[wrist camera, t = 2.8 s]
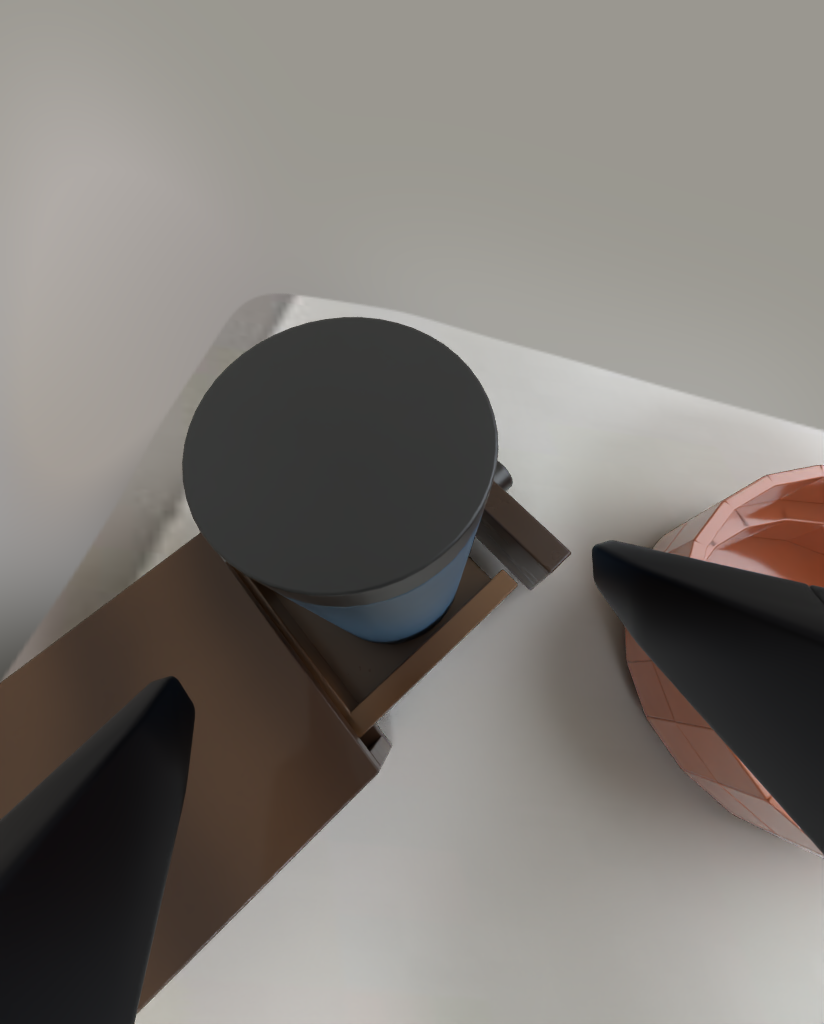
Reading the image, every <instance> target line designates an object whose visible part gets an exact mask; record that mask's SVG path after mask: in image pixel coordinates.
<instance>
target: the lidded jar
mask: <svg viewBox="0 0 824 1024" xmlns="http://www.w3.org/2000/svg"><path fill="white" fill-rule="evenodd" d="M497 458H498V432H497V427H496V421H495V416H494V413H493V410H492V407H491V404H490V401H489V399H488V397H487V395H486V393H485V391H484V389H483V387H482V385H481V383H480V381H479V380H478V379H477V377H476V376H475V375H474V373H473V372H472V370H471V369H470V368H469V367H468V366H467V365H466V364H465V363H464V361H463V360H462V359H461V358H460V357H459V356H458V355H457V354H455V353H454V352H453V351H452V350H450V349H449V348H448V347H447V346H445V345H444V344H442V343H441V342H439V341H437V340H436V339H434V338H433V337H431V336H429V335H427V334H425V333H423V332H421V331H418V330H416V329H414V328H411V327H408V326H405V325H402V324H399V323H395V322H391V321H386V320H381V319H373V318H363V317H343V318H333V319H324V320H319V321H314V322H310V323H306V324H302V325H299V326H296V327H293V328H290V329H287V330H285V331H283V332H280V333H278V334H275V335H273V336H271V337H270V338H268V339H266V340H264V341H262V342H260V343H259V344H257V345H255V346H254V347H252V348H251V349H250V350H248V351H247V352H245V353H244V354H242V355H241V356H240V357H239V358H238V359H236V360H235V361H234V362H233V363H232V364H231V365H229V366H228V367H227V368H226V369H225V370H224V372H223V373H222V374H221V375H220V376H219V377H218V378H217V379H216V380H215V381H214V383H213V384H212V386H211V387H210V388H209V390H208V391H207V392H206V394H205V395H204V397H203V399H202V400H201V402H200V404H199V406H198V407H197V409H196V411H195V414H194V416H193V419H192V421H191V423H190V426H189V429H188V433H187V437H186V440H185V444H184V453H183V461H182V466H183V483H184V489H185V494H186V499H187V502H188V505H189V508H190V511H191V514H192V516H193V519H194V521H195V522H196V524H197V526H198V528H199V530H200V531H201V533H202V535H203V536H204V538H205V539H206V540H207V541H208V543H209V544H210V545H211V547H212V548H213V549H214V550H215V551H216V552H217V553H218V554H219V555H220V556H221V557H222V558H223V559H224V560H225V561H226V562H228V563H229V564H230V565H231V566H233V567H234V568H236V569H237V570H239V571H240V572H241V573H243V574H244V575H246V576H247V577H249V578H251V579H253V580H255V581H257V582H258V583H260V584H262V585H264V586H266V587H268V588H269V589H271V590H273V591H275V592H277V593H278V594H280V595H282V596H284V597H286V598H288V599H289V600H291V601H293V602H295V603H297V604H298V605H300V606H302V607H304V608H306V609H308V610H309V611H311V612H313V613H315V614H317V615H318V616H320V617H322V618H324V619H326V620H328V621H329V622H331V623H333V624H335V625H337V626H338V627H340V628H342V629H344V630H346V631H348V632H349V633H351V634H353V635H355V636H357V637H359V638H361V639H363V640H367V641H370V642H374V643H379V644H396V643H402V642H407V641H410V640H413V639H415V638H418V637H420V636H421V635H423V634H425V633H427V632H428V631H429V630H431V629H432V628H433V627H435V626H436V625H437V624H438V623H439V622H440V621H441V620H442V618H443V617H444V616H445V614H446V613H447V611H448V610H449V608H450V606H451V604H452V602H453V600H454V597H455V594H456V591H457V588H458V586H459V583H460V580H461V577H462V574H463V571H464V568H465V565H466V562H467V559H468V556H469V553H470V550H471V547H472V544H473V541H474V538H475V535H476V532H477V529H478V526H479V523H480V520H481V517H482V514H483V511H484V508H485V505H486V502H487V499H488V496H489V493H490V490H491V487H492V483H493V480H494V476H495V472H496V467H497Z"/></svg>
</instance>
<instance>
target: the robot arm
mask: <svg viewBox="0 0 824 1024" xmlns="http://www.w3.org/2000/svg"><path fill="white" fill-rule="evenodd" d="M592 560H593V576H594V581H595V584H596V586H597V588H598V589H599V591H600V592H601V593H602V595H603V596H604V598H605V599H606V601H607V602H608V603H609V605H610V606H611V608H612V609H613V610H614V612H615V613H616V615H617V616H618V617H619V619H620V620H621V622H622V623H623V624H624V626H625V627H626V629H627V630H628V631H629V633H630V634H631V636H632V637H633V638H634V640H635V641H636V642H637V644H638V645H639V646H640V647H641V648H642V650H643V651H644V652H645V653H646V654H647V655H648V657H649V658H650V659H651V660H652V661H653V662H654V663H655V664H656V666H657V667H658V668H659V669H660V670H661V671H662V672H663V673H664V675H665V676H666V677H667V678H668V679H669V680H670V681H671V683H672V684H673V685H674V686H675V687H676V688H677V689H678V690H679V692H680V693H681V694H682V695H683V696H684V697H685V698H686V700H687V701H688V702H689V703H690V704H691V705H692V706H693V707H694V709H695V710H696V711H697V712H698V713H699V714H700V715H701V716H702V718H703V719H704V720H705V721H706V722H707V723H708V724H709V726H710V727H711V728H712V729H713V730H714V731H715V732H716V733H717V735H718V736H719V737H720V738H721V739H722V740H723V741H724V743H725V744H726V745H727V746H728V747H729V748H730V749H731V750H732V752H733V753H734V754H735V755H736V756H737V757H738V758H739V759H740V761H741V762H742V763H743V764H744V765H745V766H746V767H747V769H748V770H749V771H750V772H751V773H752V774H753V775H754V776H755V778H756V779H757V780H758V781H759V782H760V783H761V784H762V785H763V787H764V788H765V789H766V790H767V791H768V792H769V793H770V795H771V796H772V797H773V798H774V799H775V800H776V801H777V802H778V804H779V805H780V806H781V807H782V808H783V809H784V810H785V812H786V813H787V814H788V815H789V816H790V817H791V818H792V819H793V821H794V822H795V823H796V824H797V825H798V826H799V827H800V828H801V830H802V831H803V832H804V833H805V834H806V835H807V836H808V838H809V839H810V840H811V841H812V842H813V843H814V844H815V845H816V847H817V848H818V849H819V850H820V851H821V852H822V853H823V855H824V587H819V586H815V585H811V586H808V585H807V584H805V583H801V582H797V581H792V580H788V579H783V578H779V577H774V576H770V575H765V574H761V573H757V572H752V571H748V570H743V569H739V568H734V567H730V566H725V565H721V564H716V563H712V562H707V561H703V560H698V559H694V558H690V557H685V556H681V555H676V554H672V553H667V552H663V551H658V550H654V549H649V548H645V547H641V546H636V545H632V544H627V543H623V542H618V541H614V540H610V541H607V542H603V543H600V544H597V545H595V546H594V547H593V549H592ZM194 722H195V708H194V704H193V702H192V701H191V699H190V697H189V696H188V694H187V693H186V691H185V690H184V688H183V686H182V685H181V683H180V682H179V680H178V679H177V678H176V677H174V676H168V677H165V678H162V679H159V680H155V681H153V682H151V683H149V684H148V685H147V686H146V687H145V688H144V689H143V690H142V691H141V692H139V693H138V694H137V695H136V696H135V697H134V698H133V699H132V700H131V701H130V702H129V703H127V704H126V705H125V706H124V707H123V708H122V709H121V710H120V711H119V712H118V713H117V714H115V715H114V716H113V717H112V718H111V719H110V720H109V721H108V722H107V723H106V724H105V725H103V726H102V727H101V728H100V729H99V730H98V731H97V732H96V733H95V734H94V735H92V736H91V737H90V738H89V739H88V740H87V741H86V742H85V743H84V744H83V745H82V746H80V747H79V748H78V749H77V750H76V751H75V752H74V753H73V754H72V755H71V756H70V757H68V758H67V759H66V760H65V761H64V762H63V763H62V764H61V765H60V766H59V767H58V768H56V769H55V770H54V771H53V772H52V773H51V774H50V775H49V776H48V777H47V778H46V779H44V780H43V781H42V782H41V783H40V784H39V785H38V786H37V787H36V788H35V789H33V790H32V791H31V792H30V793H29V794H28V795H27V796H26V797H25V798H24V799H23V800H21V801H20V802H19V803H18V804H17V805H16V806H15V807H14V808H13V809H12V810H11V811H9V812H8V813H7V814H6V815H5V816H4V817H3V818H2V819H1V820H0V1024H134V1022H135V1018H136V1013H137V1009H138V1004H139V1000H140V995H141V991H142V987H143V982H144V978H145V973H146V969H147V964H148V960H149V955H150V951H151V946H152V942H153V938H154V933H155V929H156V924H157V920H158V915H159V911H160V906H161V902H162V897H163V893H164V888H165V884H166V880H167V875H168V871H169V866H170V862H171V857H172V853H173V848H174V844H175V839H176V835H177V830H178V826H179V822H180V817H181V813H182V808H183V803H184V798H185V793H186V787H187V780H188V772H189V764H190V756H191V747H192V739H193V731H194Z"/></svg>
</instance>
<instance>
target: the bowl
mask: <svg viewBox="0 0 824 1024" xmlns="http://www.w3.org/2000/svg"><path fill="white" fill-rule="evenodd" d="M653 549H654V550H658V551H663V552H667V553H672V554H676V555H681V556H685V557H690V558H694V559H698V560H703V561H707V562H712V563H716V564H721V565H725V566H730V567H734V568H739V569H743V570H748V571H752V572H757V573H761V574H765V575H770V576H774V577H779V578H783V579H788V580H792V581H797V582H801V583H805V584H807V585H808V586H811V585H815V586H819V587H824V465H816V466H811V467H805V468H800V469H795V470H790V471H784V472H779V473H774V474H769V475H766V476H763V477H761V478H760V479H758V480H756V481H755V482H753V483H751V484H750V485H748V486H746V487H744V488H743V489H741V490H739V491H738V492H736V493H734V494H733V495H731V496H729V497H727V498H726V499H724V500H722V501H721V502H719V503H717V504H716V505H714V506H712V507H711V508H709V509H707V510H706V511H704V512H702V513H701V514H699V515H697V516H696V517H694V518H692V519H691V520H689V521H687V522H685V523H684V524H682V525H680V526H679V527H677V528H675V529H674V530H672V531H670V532H669V533H667V534H665V535H664V536H663V537H662V538H660V540H659V541H658V542H657V544H656V545H655V546H654V547H653ZM625 641H626V661H627V662H628V663H627V665H628V668H629V671H630V674H631V676H632V679H633V682H634V685H635V688H636V691H637V693H638V696H639V699H640V702H641V705H642V708H643V710H644V713H645V715H646V718H647V720H648V721H649V723H650V724H651V726H652V727H653V728H654V730H655V731H656V733H657V734H658V736H659V737H660V739H661V740H662V742H663V743H664V745H665V746H666V748H667V749H668V750H669V752H670V753H671V755H672V756H673V758H674V759H675V761H676V762H677V764H678V765H679V767H680V768H681V769H682V770H683V771H684V772H685V773H686V774H687V775H688V776H689V777H691V778H692V779H693V780H694V781H695V782H696V783H697V784H699V785H700V786H701V787H702V788H703V789H704V790H705V791H706V792H708V793H709V794H710V795H711V796H712V797H713V798H714V799H715V800H717V801H718V802H719V803H720V804H721V805H722V806H723V807H725V808H726V809H727V810H728V811H729V812H730V813H732V814H733V815H734V816H736V817H738V818H740V819H742V820H744V821H746V822H748V823H750V824H752V825H754V826H756V827H758V828H760V829H762V830H764V831H766V832H768V833H770V834H773V835H775V836H777V837H779V838H781V839H783V840H785V841H787V842H789V843H791V844H793V845H795V846H797V847H799V848H801V849H804V850H806V851H808V852H810V853H812V854H814V855H817V856H819V857H821V858H823V859H824V855H823V853H822V852H821V851H820V850H819V849H818V848H817V847H816V845H815V844H814V843H813V842H812V841H811V840H810V839H809V838H808V836H807V835H806V834H805V833H804V832H803V831H802V830H801V828H800V827H799V826H798V825H797V824H796V823H795V822H794V821H793V819H792V818H791V817H790V816H789V815H788V814H787V813H786V812H785V810H784V809H783V808H782V807H781V806H780V805H779V804H778V802H777V801H776V800H775V799H774V798H773V797H772V796H771V795H770V793H769V792H768V791H767V790H766V789H765V788H764V787H763V785H762V784H761V783H760V782H759V781H758V780H757V779H756V778H755V776H754V775H753V774H752V773H751V772H750V771H749V770H748V769H747V767H746V766H745V765H744V764H743V763H742V762H741V761H740V759H739V758H738V757H737V756H736V755H735V754H734V753H733V752H732V750H731V749H730V748H729V747H728V746H727V745H726V744H725V743H724V741H723V740H722V739H721V738H720V737H719V736H718V735H717V733H716V732H715V731H714V730H713V729H712V728H711V727H710V726H709V724H708V723H707V722H706V721H705V720H704V719H703V718H702V716H701V715H700V714H699V713H698V712H697V711H696V710H695V709H694V707H693V706H692V705H691V704H690V703H689V702H688V701H687V700H686V698H685V697H684V696H683V695H682V694H681V693H680V692H679V690H678V689H677V688H676V687H675V686H674V685H673V684H672V683H671V681H670V680H669V679H668V678H667V677H666V676H665V675H664V673H663V672H662V671H661V670H660V669H659V668H658V667H657V666H656V664H655V663H654V662H653V661H652V660H651V659H650V658H649V657H648V655H647V654H646V653H645V652H644V651H643V650H642V648H641V647H640V646H639V645H638V644H637V642H636V641H635V640H634V638H633V637H632V636H631V634H630V633H629V631H628V630H627V629H626V627H625Z"/></svg>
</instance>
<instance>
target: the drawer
mask: <svg viewBox="0 0 824 1024" xmlns="http://www.w3.org/2000/svg"><path fill="white" fill-rule="evenodd" d="M512 483H513V481H512V477H511V475H510V473H509V472H508V470H507V469H506V468H505V467H504V466H503V465H502V464H501V463H500V462H498V461H497V467H496V472H495V476H494V480H493V483H492V487H491V490H490V493H489V496H488V499H487V502H486V505H485V508H484V511H483V514H482V517H481V520H480V523H479V526H478V529H477V532H476V535H475V536H476V537H477V538H478V539H479V540H480V541H481V542H482V543H483V544H484V545H485V546H486V547H487V548H488V549H489V550H490V551H491V552H492V553H493V554H494V555H495V556H496V557H497V558H498V559H499V560H500V561H501V562H502V563H503V564H504V565H505V566H506V567H507V568H508V569H509V570H510V571H511V572H512V573H513V574H514V575H515V576H516V577H517V578H518V579H519V580H520V581H521V582H522V583H523V584H524V585H525V586H526V587H527V588H528V589H529V590H532V589H533V588H534V587H535V586H537V585H538V584H539V583H540V582H541V581H543V580H544V579H545V578H546V577H547V576H549V575H550V574H551V573H552V572H553V571H554V570H555V569H556V568H557V567H558V566H559V565H560V564H561V563H562V562H563V561H564V560H565V559H566V558H567V557H569V556H570V555H571V552H570V551H569V550H568V549H567V548H566V547H565V546H564V545H563V544H562V543H561V542H560V541H559V540H558V539H556V538H555V537H554V536H553V535H552V534H551V533H550V532H549V531H548V530H547V529H546V528H545V527H544V526H542V525H541V524H540V523H539V522H538V521H537V520H536V519H535V518H534V517H533V516H532V515H531V514H529V513H528V512H527V511H526V510H525V509H524V508H523V507H522V506H521V505H520V504H519V503H518V502H516V501H515V500H514V499H513V498H512V497H511V496H510V495H509V494H508V493H507V492H506V491H507V490H508V489H509V488H510V487H511V486H512ZM232 568H233V569H234V570H235V572H236V573H237V574H238V576H239V577H240V578H241V580H242V581H243V582H244V584H245V585H246V586H247V588H248V589H249V590H250V592H251V593H252V594H253V596H254V597H255V598H256V600H257V601H258V602H259V604H260V605H261V606H262V608H263V609H264V610H265V612H266V613H267V615H268V616H269V617H270V619H271V620H272V621H273V623H274V624H275V625H276V627H277V628H278V629H279V631H280V632H281V633H282V635H283V636H284V637H285V639H286V640H287V641H288V643H289V644H290V645H291V647H292V648H293V649H294V651H295V652H296V653H297V655H298V656H299V657H300V659H301V660H302V662H303V663H304V664H305V666H306V667H307V668H308V670H309V671H310V672H311V674H312V675H313V676H314V678H315V679H316V680H317V682H318V683H319V684H320V686H321V687H322V688H323V690H324V691H325V692H326V694H327V695H328V696H329V698H330V699H331V700H332V702H333V703H334V704H335V706H336V707H337V709H338V710H339V711H340V713H341V714H342V715H343V717H344V718H345V719H346V721H347V722H348V723H349V725H350V726H351V727H352V729H353V730H354V731H355V733H356V734H357V735H358V737H359V738H361V737H362V736H363V735H364V734H365V733H366V732H367V731H368V730H369V729H370V728H371V727H372V726H373V725H374V724H375V723H376V722H377V721H378V720H379V719H381V718H382V717H383V716H384V715H385V714H386V713H387V712H388V711H389V710H390V709H391V708H392V707H393V706H394V705H395V704H396V703H397V702H398V701H399V700H400V699H401V698H402V697H403V696H404V695H405V694H406V693H408V692H409V691H410V690H411V689H412V688H413V687H414V686H415V685H416V684H417V683H418V682H419V681H420V680H421V679H422V678H423V677H424V676H425V675H426V674H427V673H428V672H429V671H430V670H431V669H432V668H433V667H435V666H436V665H437V664H438V663H439V662H440V661H441V660H442V659H443V658H444V657H445V656H446V655H447V654H448V653H449V652H450V651H451V650H452V649H453V648H454V647H455V646H456V645H457V644H458V643H459V642H460V641H461V640H463V639H464V638H465V637H466V636H467V635H468V634H469V633H470V632H471V631H472V630H473V629H474V628H475V627H476V626H477V625H478V624H479V623H480V622H481V621H482V620H483V619H484V618H485V617H486V616H487V615H488V614H490V613H491V612H492V611H493V610H494V609H495V608H496V607H497V606H498V605H499V604H500V603H501V602H502V601H503V600H504V599H505V598H506V597H507V596H508V595H509V594H510V593H511V592H512V591H513V590H514V589H515V588H516V587H517V586H518V584H517V583H516V582H515V581H514V580H513V579H512V578H511V577H510V576H509V575H508V574H507V573H506V572H505V571H504V570H501V571H500V572H499V573H498V574H497V575H496V576H495V577H493V578H492V579H490V578H489V577H488V575H487V574H486V573H485V572H484V571H483V570H482V569H481V568H480V567H479V566H478V565H477V564H476V563H475V562H474V561H473V560H472V559H471V558H470V557H469V556H468V559H467V562H466V565H465V568H464V571H463V574H462V577H461V580H460V583H459V586H458V588H457V591H456V594H455V597H454V600H453V602H452V604H451V606H450V608H449V610H448V611H447V613H446V614H445V616H444V617H443V618H442V620H441V621H440V622H439V623H438V624H437V625H436V626H435V627H433V628H432V629H431V630H429V631H428V632H427V633H425V634H423V635H421V636H420V637H418V638H415V639H413V640H410V641H407V642H402V643H396V644H379V643H374V642H370V641H367V640H363V639H361V638H359V637H357V636H355V635H353V634H351V633H349V632H348V631H346V630H344V629H342V628H340V627H338V626H337V625H335V624H333V623H331V622H329V621H328V620H326V619H324V618H322V617H320V616H318V615H317V614H315V613H313V612H311V611H309V610H308V609H306V608H304V607H302V606H300V605H298V604H297V603H295V602H293V601H291V600H289V599H288V598H286V597H284V596H282V595H280V594H278V593H277V592H275V591H273V590H271V589H269V588H268V587H266V586H264V585H262V584H260V583H258V582H257V581H255V580H253V579H251V578H249V577H247V576H246V575H244V574H243V573H241V572H240V571H239V570H237V569H236V568H234V567H233V566H232Z"/></svg>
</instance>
